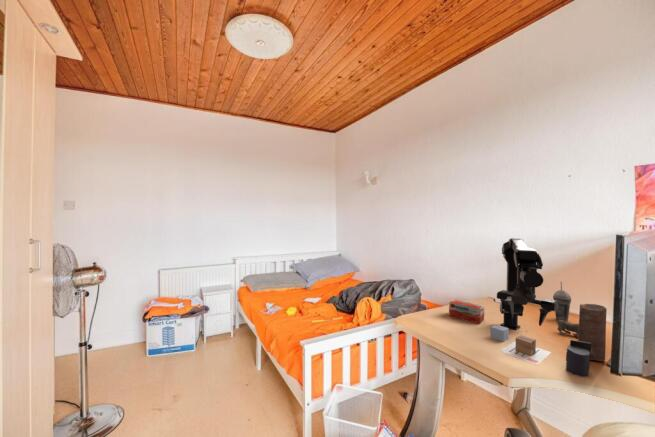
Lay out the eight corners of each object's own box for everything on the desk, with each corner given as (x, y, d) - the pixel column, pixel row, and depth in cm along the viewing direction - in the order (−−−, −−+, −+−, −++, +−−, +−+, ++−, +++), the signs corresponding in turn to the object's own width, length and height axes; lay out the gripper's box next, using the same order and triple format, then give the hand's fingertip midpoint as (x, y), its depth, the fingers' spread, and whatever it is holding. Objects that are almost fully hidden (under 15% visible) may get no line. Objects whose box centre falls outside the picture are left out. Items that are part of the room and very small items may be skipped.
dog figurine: (556, 334, 122) (556, 317, 122) (557, 330, 126) (557, 314, 126) (593, 342, 113) (593, 325, 114) (593, 338, 118) (593, 321, 118)
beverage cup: (556, 321, 137) (556, 282, 137) (550, 317, 144) (550, 280, 144) (574, 324, 134) (574, 284, 134) (567, 319, 141) (567, 281, 141)
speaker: (566, 363, 95) (568, 336, 94) (589, 371, 91) (591, 342, 90) (563, 373, 90) (565, 344, 89) (587, 382, 86) (590, 352, 85)
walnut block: (520, 347, 107) (520, 334, 107) (535, 352, 103) (535, 339, 103) (515, 350, 104) (515, 338, 104) (530, 356, 100) (531, 342, 100)
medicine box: (484, 320, 138) (484, 304, 138) (480, 324, 132) (480, 308, 132) (453, 313, 148) (453, 298, 148) (448, 316, 142) (448, 301, 142)
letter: (515, 341, 113) (515, 340, 113) (551, 353, 104) (551, 352, 104) (499, 351, 104) (499, 351, 104) (537, 365, 94) (537, 364, 94)
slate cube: (495, 335, 119) (495, 324, 119) (508, 339, 115) (508, 328, 115) (490, 338, 116) (490, 327, 116) (503, 342, 112) (503, 330, 112)
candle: (611, 365, 95) (612, 309, 95) (588, 363, 97) (588, 307, 97) (594, 354, 103) (594, 302, 103) (572, 353, 104) (573, 301, 104)
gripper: (490, 279, 107) (490, 318, 107) (549, 289, 92) (549, 335, 92) (502, 276, 113) (502, 313, 113) (559, 285, 98) (558, 328, 98)
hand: (525, 321), depth 104 cm, fingers open, 9 cm apart
